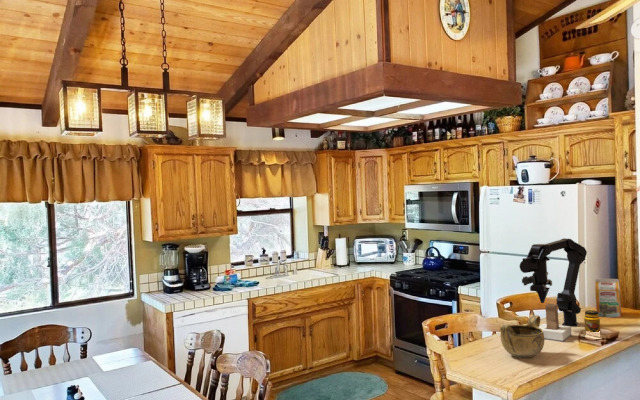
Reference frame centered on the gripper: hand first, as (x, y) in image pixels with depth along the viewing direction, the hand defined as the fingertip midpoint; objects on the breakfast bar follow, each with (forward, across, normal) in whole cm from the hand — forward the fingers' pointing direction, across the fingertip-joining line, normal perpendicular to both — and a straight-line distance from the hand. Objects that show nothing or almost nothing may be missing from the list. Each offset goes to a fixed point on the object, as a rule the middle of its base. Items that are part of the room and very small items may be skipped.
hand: (542, 303), depth 243 cm
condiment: (+13, +5, +21) cm, 25 cm away
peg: (+12, +10, +6) cm, 17 cm away
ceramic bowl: (+13, +43, +1) cm, 45 cm away
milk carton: (+13, -41, +23) cm, 49 cm away
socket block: (+13, +10, +6) cm, 17 cm away
